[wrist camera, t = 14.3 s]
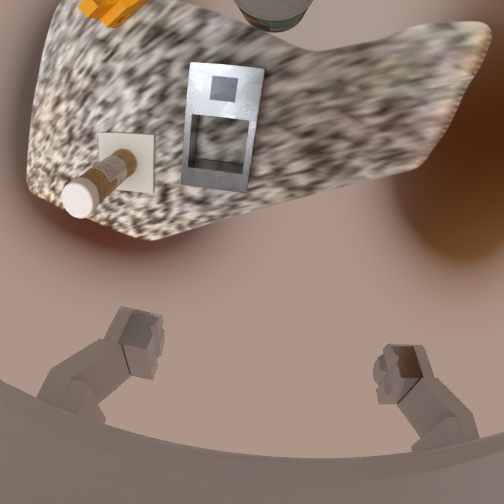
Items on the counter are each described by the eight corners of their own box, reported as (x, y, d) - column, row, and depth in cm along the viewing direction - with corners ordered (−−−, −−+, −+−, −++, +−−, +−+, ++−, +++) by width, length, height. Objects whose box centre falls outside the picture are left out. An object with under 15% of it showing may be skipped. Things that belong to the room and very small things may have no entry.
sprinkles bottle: (124, 182, 44) (78, 226, 32) (105, 160, 42) (54, 199, 31) (143, 164, 42) (99, 205, 31) (124, 141, 40) (72, 175, 29)
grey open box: (198, 62, 34) (190, 62, 31) (265, 69, 34) (264, 69, 31) (188, 174, 43) (180, 184, 40) (248, 182, 43) (245, 193, 40)
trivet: (100, 131, 40) (98, 132, 39) (155, 134, 40) (153, 135, 39) (103, 186, 45) (101, 187, 44) (154, 192, 45) (153, 193, 44)
